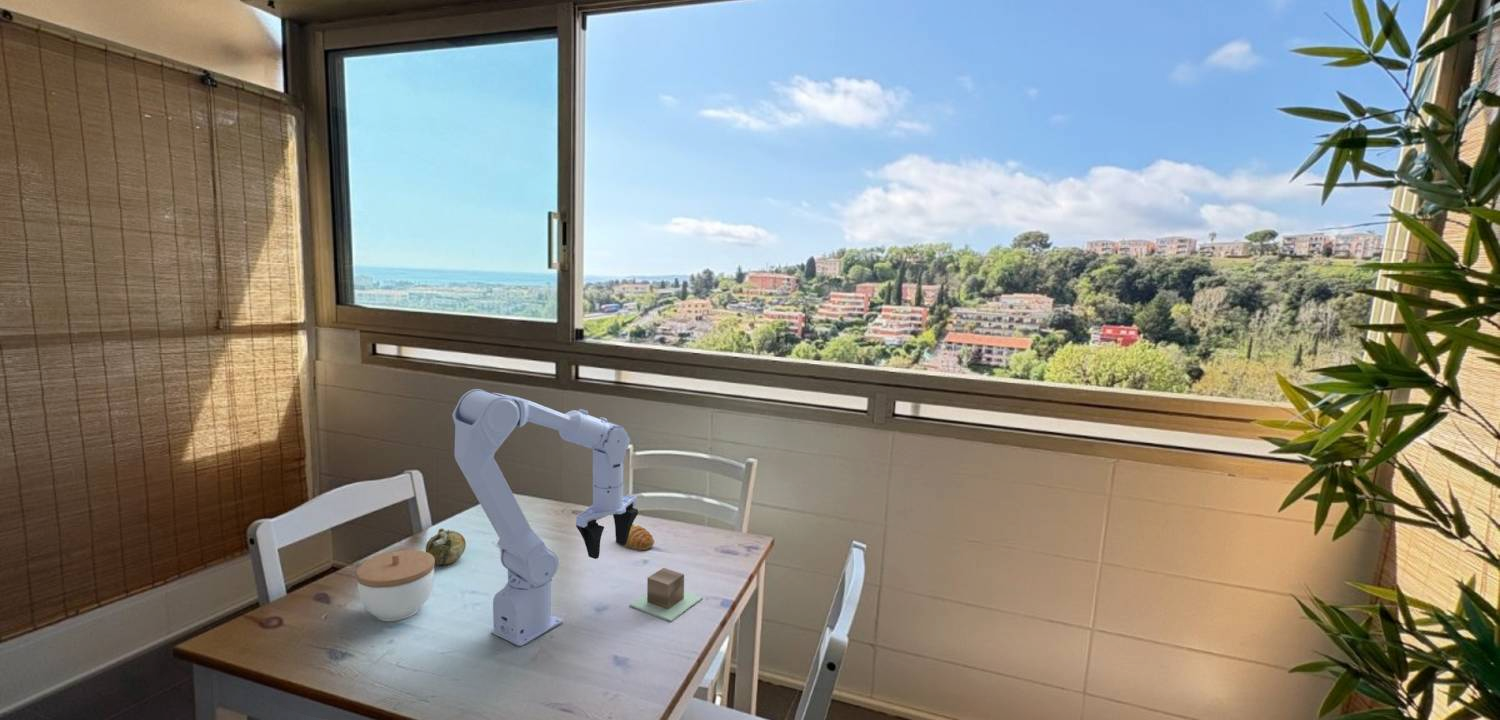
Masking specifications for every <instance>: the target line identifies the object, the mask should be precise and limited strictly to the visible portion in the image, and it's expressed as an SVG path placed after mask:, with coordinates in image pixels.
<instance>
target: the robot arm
mask: <svg viewBox="0 0 1500 720" xmlns="http://www.w3.org/2000/svg"><path fill="white" fill-rule="evenodd" d="M451 415H452V416H451V417H452V419H453V422H454V429H455V430H454V433H455V434H454V454H453V455H454V460H455V462H456V464H457V466H458V467H459V468H460V470H461V472H462V474H463V477H464V478H465V479H466V481H467V483H468V484H469V486H470V489H471V491H472V492H473V494H474V496H475V497H476V499H477V500H478V502H479V504H480V506H481V509H483V511H484V513H485V515H486V517H487V518H488V520H489V522H490V524H491V526H492V527H493V529H494V531H495V533H496V535H497V536H498V538H499V539H498V541H497V545H498V548H499V549H500V550H499V551H500V557H499V558H500V562H501V564H502V566H503V567H504V568H505V569H506V570H507V583H506V584H505V586H504V587H503V588H501V590H500V591H498V592H496V593H495V594H494V595H493V596H494V597H493V599H492V601H493V602H492V610H493V611H492V612H493V613H492V614H493V615H492V617H493V628H492V629H491V630H490V633H491V634H493V635H495V636H498V637H500V638H502V639H503V640H506V641H507V642H510V643H512V644H514V645H516V646H518V647H522V646H525V644H528V643H529V642H531V641H533V640H534V639H537V637H540V636H541V635H543V634H544V633H546V632H548V631H549V630H551V629H553V628H555V627H556V626H558V625H560V624H562V623H563V619H562V618H561V617H558V616H556V615H553V614H552V581H553V578H554V577H555V575H556V573H557V572H558V568H559V563H560V561H559V556H558V554H557V553H556V552H555V551H554V550H552V549H550V548H549V547H547V546H546V544H545V542H544V541H543V539H542V538H540V537H539V535H538V534H537V533H536V532H535V531H534V530H533V529H532V527H531V525H530V524H529V521H528V519H527V517H526V515H525V514H524V512H523V509H521V507H520V504H519V503H518V501H517V499H516V497H515V495H514V493H513V491H512V489H511V488H510V485H509V484H508V482H507V479H506V478H505V477H504V474H503V472H502V471H501V469H500V467H499V464H498V463H497V461H496V459H495V453H496V452H497V451H498V450H499V448H500V447H501V446H502V445H503V443H504V442H505V441H506V440H507V439H508V437H509V436H510V435H511V433H512V432H513V431H514V429H515V428H516V427H517V428H522V427H523V426H524V425H525V424H526V423H528V422H529V423H531V424H535V425H537V426H538V425H539V426H542V427H545V428H549V429H551V430H552V429H553V430H556V431H558V433H559V437H560V438H561V439H562V440H563V441H566V442H568V443H573V444H575V445H579V446H581V447H585V448H589V449H591V450H592V505H590V506H589V507H587V508H586V509H585V510H584V511H582V512H581V513H579V514H576V516H575V519H576V521H575V526H576V529H577V530H578V531H579V533H580V535H581V538H582V539H583V541H584V544H585V548H586V551H587V554H588V557H589V558H592V559H593V560H597V559H599V558H600V557H599V556H600V553H601V539H602V536H603V532H604V530H605V526H603V525H600V524H599V522H597V521H599V520H601V519H603V518H606V517H608V516H612V515H613V516H612V517H613V521H614V528H615V529H614V530H615V532H614V533H615V542H616V544H619V545H622V546H623V545H626V543H627V539H628V536H629V532H630V529H631V526H632V524H633V523H634V521H635V519H636V518H637V517H638V515H639V509H638V508H635V507H636V506H637V505H638V496H637V495H633V494H628V495H624V461H625V460H626V452H627V450H628V448H629V446H630V442H631V437H629V435H628V432H627V430H625V428H624V426H621V425H618V424H616V423H612V422H608V419H607V418H605V417H602V416H601V417H599V418H598V417H595V416H593V415H590V414H589V411H588V410H585V409H582V408H578V410H575V409H573V410H570V411H568V412H565V413H562V412H560V411H557V410H554V409H552V408H550V407H547V406H545V405H542V404H539V403H537V402H534V401H532V400H529V399H525V398H521V397H518V396H513V395H508V394H503V393H498V392H488V391H486V390H484V389H480V388H474V389H471V390H469V391H466V392H465V393H463V394H462V396H461V397H460V398H459V400H458V402H457V404H456V406H455V408H454V410H453V412H452V414H451Z"/></svg>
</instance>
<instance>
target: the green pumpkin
mask: <svg viewBox="0 0 1500 720" xmlns="http://www.w3.org/2000/svg"><path fill="white" fill-rule="evenodd" d="M437 531H438V532H437V533H436V534H435V535H433V536H431V537H430V538H429V540H428V541H427V542H426V544H425V552H428V553H430V554H431V555H432V556H433V557H434V559H435V565H438V566H445V565H450V564H453V563H454V562H455V563H456V561H458V560H459V559H460V558H461V557H462V555H463V554H464V553H465V550H466V547H467V546H466V539H465V537H464V536H463V535H462V534H461V533H459V532H458V531H455V530H452V529H451V530H449V529H447V530H445V529H444V528H439V529H438V530H437Z"/></svg>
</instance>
